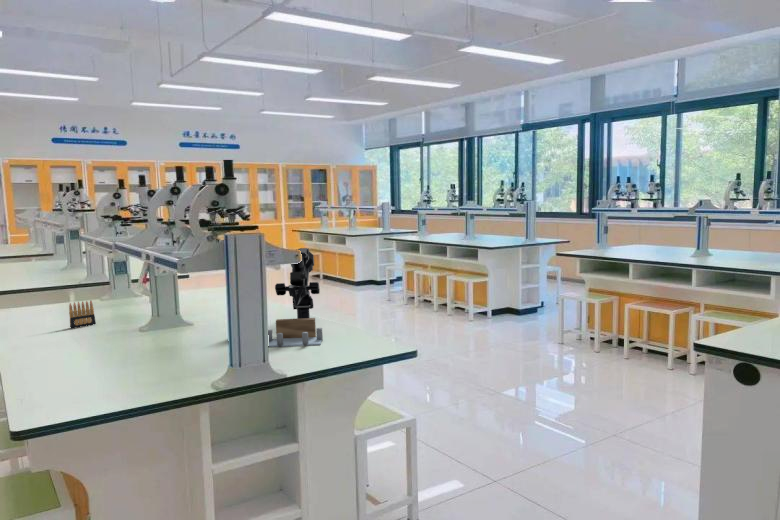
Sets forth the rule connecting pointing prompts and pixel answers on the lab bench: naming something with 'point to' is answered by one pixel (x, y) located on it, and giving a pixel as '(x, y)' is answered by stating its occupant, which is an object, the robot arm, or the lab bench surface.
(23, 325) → the lab bench surface
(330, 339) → the lab bench surface
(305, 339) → the peg plate
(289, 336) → the shelf board
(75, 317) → the ammunition clip
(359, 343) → the lab bench surface
